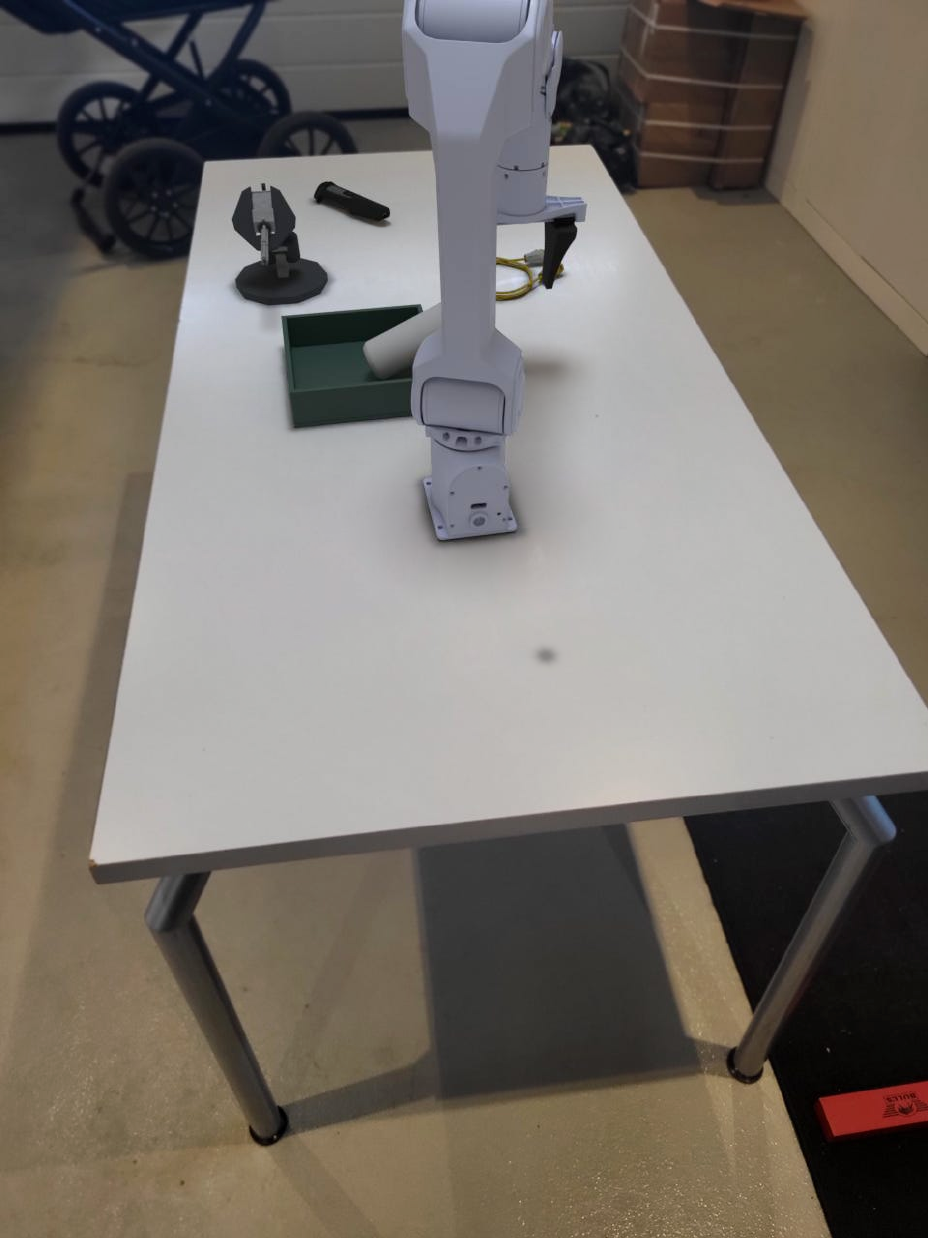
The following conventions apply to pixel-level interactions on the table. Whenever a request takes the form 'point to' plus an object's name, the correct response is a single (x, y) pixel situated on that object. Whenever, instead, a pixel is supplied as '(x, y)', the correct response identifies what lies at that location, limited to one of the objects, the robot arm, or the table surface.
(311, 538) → the table surface
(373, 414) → the open storage bin
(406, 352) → the beverage can
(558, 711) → the table surface
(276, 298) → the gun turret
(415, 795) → the table surface
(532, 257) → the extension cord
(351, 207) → the electric trimmer
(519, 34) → the robot arm
